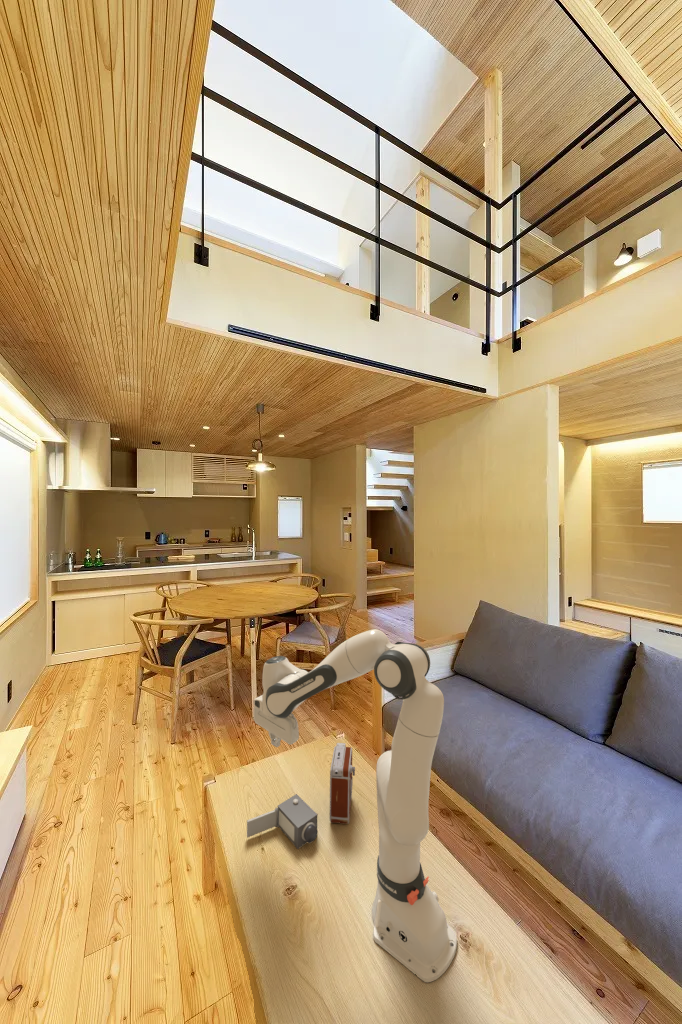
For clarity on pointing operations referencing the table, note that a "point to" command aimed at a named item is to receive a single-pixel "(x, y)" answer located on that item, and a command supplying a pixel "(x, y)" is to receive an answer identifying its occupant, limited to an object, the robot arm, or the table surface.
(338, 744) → the cine camera
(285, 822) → the camera body
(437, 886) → the table surface
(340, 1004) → the table surface
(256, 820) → the side door
